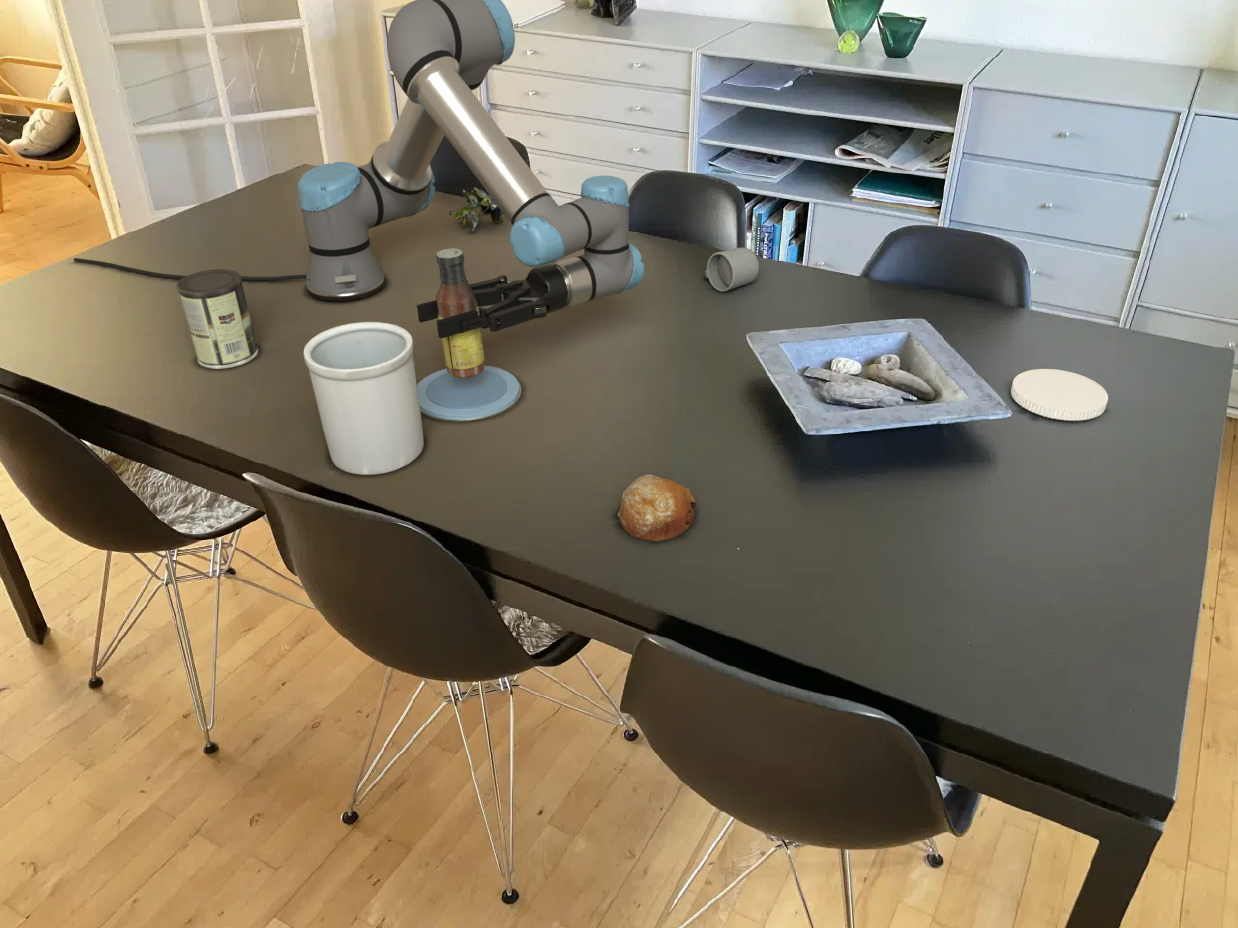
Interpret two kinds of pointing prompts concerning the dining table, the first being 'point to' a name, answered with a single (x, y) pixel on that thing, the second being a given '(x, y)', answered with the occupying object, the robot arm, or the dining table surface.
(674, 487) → the bread roll
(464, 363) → the sauce bottle
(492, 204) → the passion flower
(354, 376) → the utensil holder
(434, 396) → the blue plate
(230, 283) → the coffee can
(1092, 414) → the plastic lid
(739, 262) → the ceramic mug
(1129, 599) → the dining table surface
